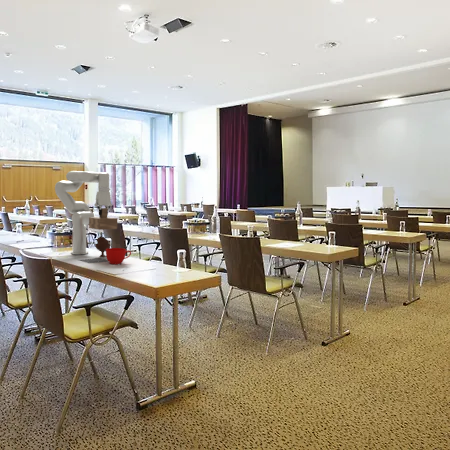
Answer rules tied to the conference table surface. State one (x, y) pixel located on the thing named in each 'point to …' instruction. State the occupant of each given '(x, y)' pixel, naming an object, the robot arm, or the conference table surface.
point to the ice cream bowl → (102, 245)
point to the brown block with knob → (103, 221)
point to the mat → (94, 260)
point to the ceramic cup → (116, 255)
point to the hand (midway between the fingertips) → (103, 214)
